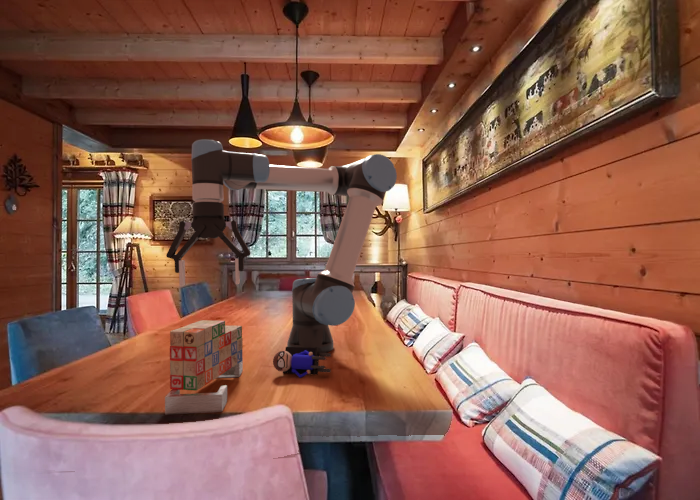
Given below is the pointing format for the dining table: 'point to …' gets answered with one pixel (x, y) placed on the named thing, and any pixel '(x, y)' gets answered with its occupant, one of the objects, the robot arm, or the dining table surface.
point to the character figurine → (300, 361)
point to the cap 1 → (195, 402)
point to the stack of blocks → (203, 353)
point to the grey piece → (233, 371)
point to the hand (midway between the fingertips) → (210, 285)
